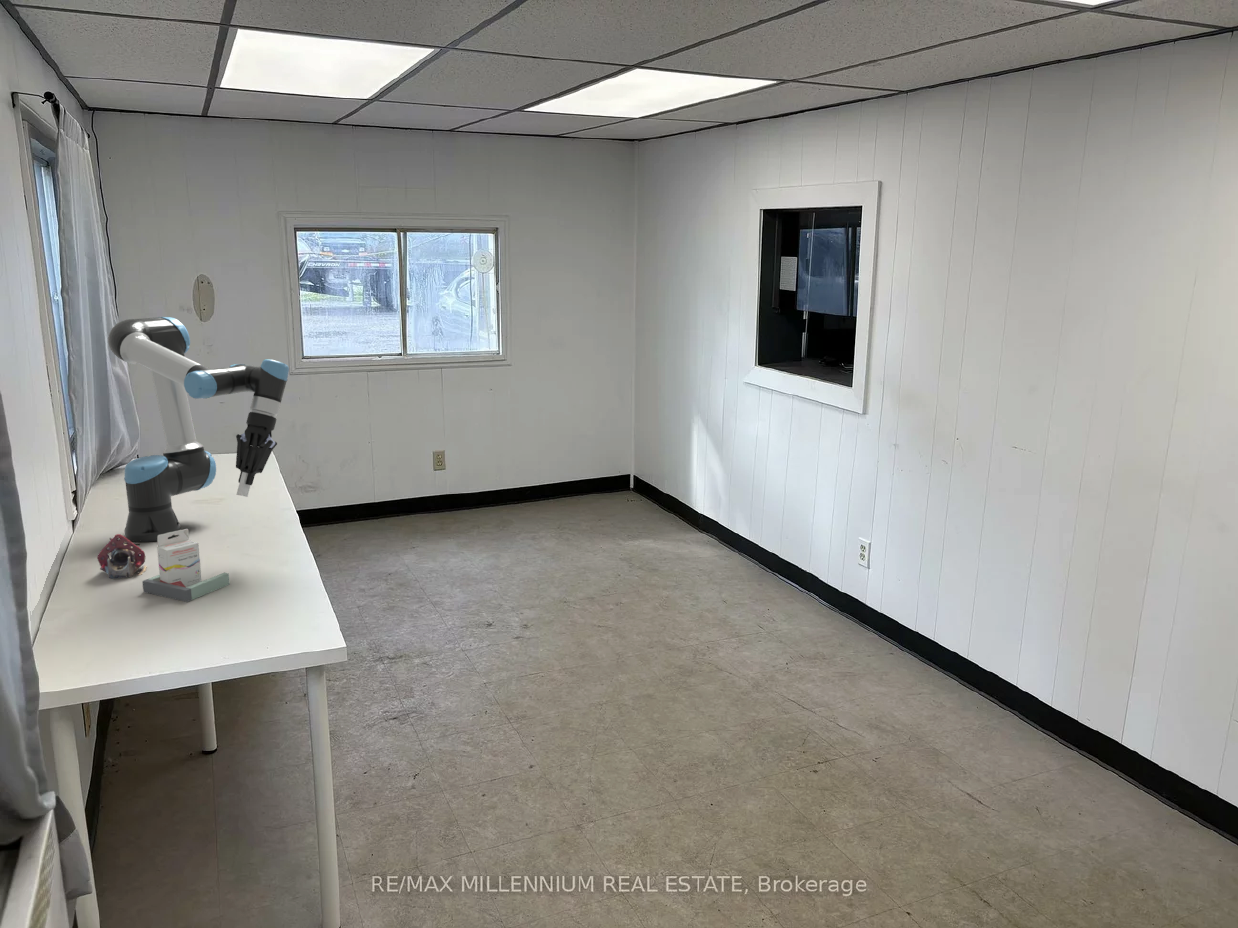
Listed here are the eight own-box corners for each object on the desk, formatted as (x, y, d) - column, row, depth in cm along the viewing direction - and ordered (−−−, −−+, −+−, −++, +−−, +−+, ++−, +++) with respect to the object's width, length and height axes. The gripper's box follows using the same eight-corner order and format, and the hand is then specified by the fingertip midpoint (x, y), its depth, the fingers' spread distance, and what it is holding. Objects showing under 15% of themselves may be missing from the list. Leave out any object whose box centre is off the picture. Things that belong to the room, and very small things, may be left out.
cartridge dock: (143, 592, 229) (142, 580, 228) (187, 575, 241) (186, 564, 241) (187, 601, 223) (185, 590, 223) (229, 584, 236) (228, 573, 235)
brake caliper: (92, 575, 233) (94, 531, 238) (102, 587, 243) (104, 545, 247) (141, 571, 237) (142, 528, 241) (149, 583, 246) (150, 542, 251)
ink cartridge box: (170, 594, 228) (164, 539, 224) (160, 590, 231) (154, 535, 227) (203, 585, 235) (198, 531, 231) (193, 580, 237) (188, 527, 234)
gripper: (290, 420, 256) (269, 501, 253) (254, 414, 261) (233, 493, 258) (272, 414, 249) (250, 497, 246) (235, 408, 254) (214, 489, 251)
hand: (242, 495), depth 252 cm, fingers closed
